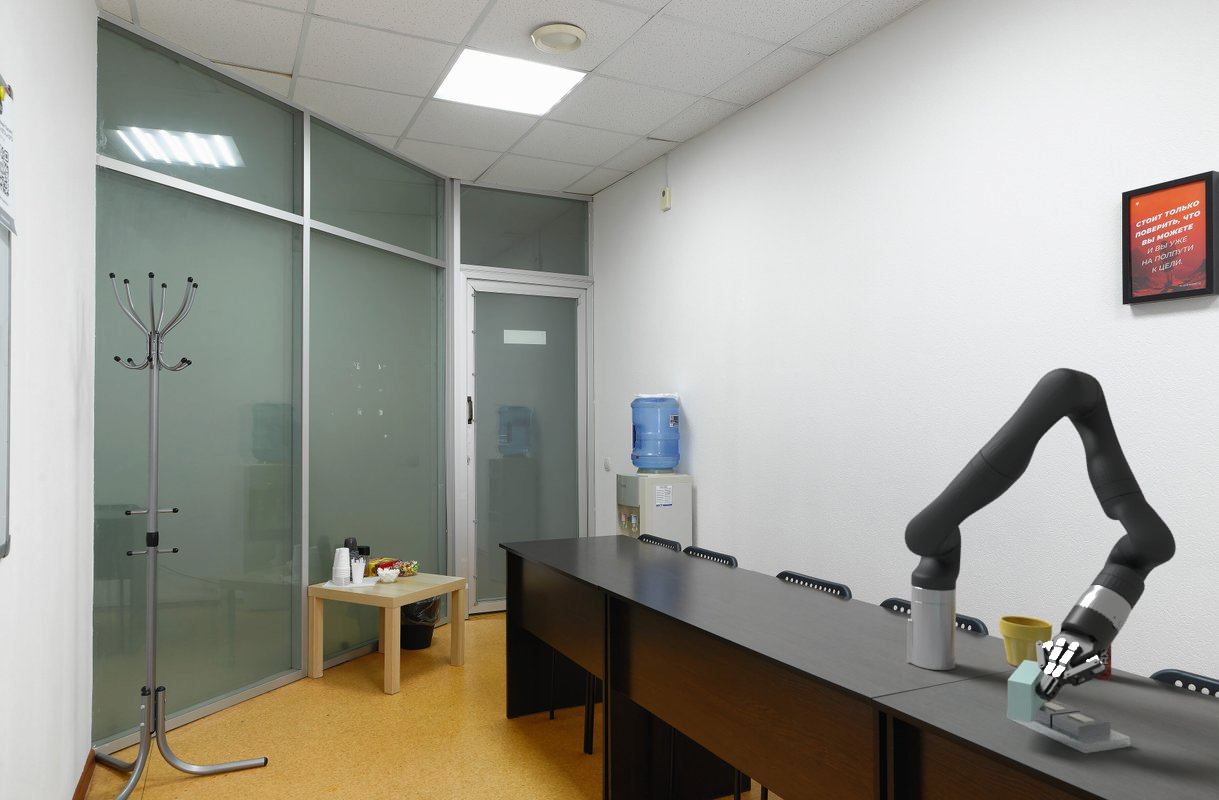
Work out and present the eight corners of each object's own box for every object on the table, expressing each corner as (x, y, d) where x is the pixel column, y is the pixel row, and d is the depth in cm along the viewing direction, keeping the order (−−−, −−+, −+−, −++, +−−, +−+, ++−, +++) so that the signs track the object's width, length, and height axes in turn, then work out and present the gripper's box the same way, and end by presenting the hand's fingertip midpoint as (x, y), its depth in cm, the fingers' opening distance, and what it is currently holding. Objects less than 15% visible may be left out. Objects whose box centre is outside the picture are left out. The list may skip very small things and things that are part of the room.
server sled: (1007, 717, 145) (1007, 697, 145) (1049, 712, 148) (1049, 692, 148) (1084, 753, 129) (1084, 730, 130) (1130, 746, 133) (1130, 724, 133)
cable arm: (1026, 691, 147) (1026, 656, 147) (1048, 695, 145) (1048, 660, 145) (1007, 718, 133) (1007, 680, 133) (1030, 723, 131) (1031, 684, 131)
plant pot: (1043, 660, 181) (1043, 617, 182) (1058, 673, 171) (1058, 628, 172) (994, 656, 184) (994, 613, 184) (1005, 669, 174) (1006, 624, 174)
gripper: (1052, 596, 143) (998, 670, 139) (1120, 612, 130) (1063, 695, 126) (1074, 623, 145) (1022, 698, 140) (1144, 642, 132) (1089, 725, 128)
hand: (1042, 697), depth 133 cm, fingers closed
